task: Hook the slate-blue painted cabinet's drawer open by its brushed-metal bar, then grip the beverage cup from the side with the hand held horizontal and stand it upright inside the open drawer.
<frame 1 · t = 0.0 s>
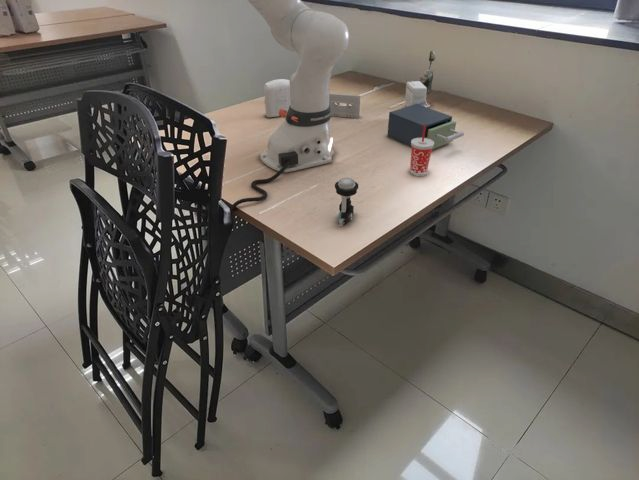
drawer: (431, 131, 139), point 4 cm above the table, slide at 1.0 cm
push button: (344, 220, 107), on the table
beverage cup: (418, 172, 126), on the table
cabinet: (417, 138, 145), on the table
cassette: (342, 116, 161), on the table
ink box: (412, 119, 159), on the table
plant with pod: (421, 105, 171), on the table
photo printer: (279, 115, 163), on the table
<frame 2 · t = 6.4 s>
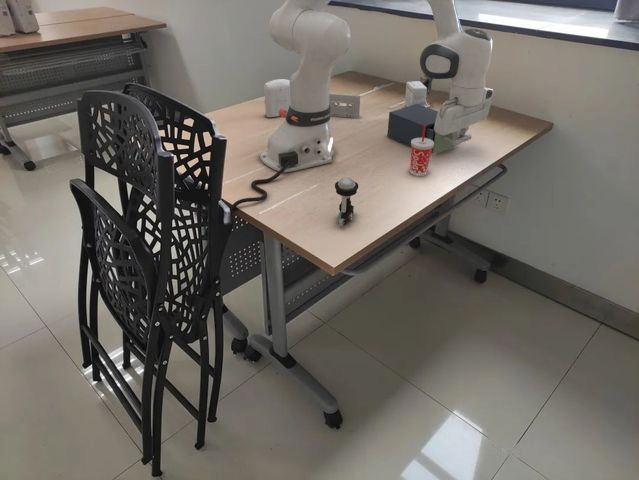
hand: (457, 141, 133), 4 cm above the table, tool pointing down, fingers closed, pressing on drawer
drawer: (438, 134, 137), point 4 cm above the table, slide at 3.8 cm, touching gripper
everything else where it was.
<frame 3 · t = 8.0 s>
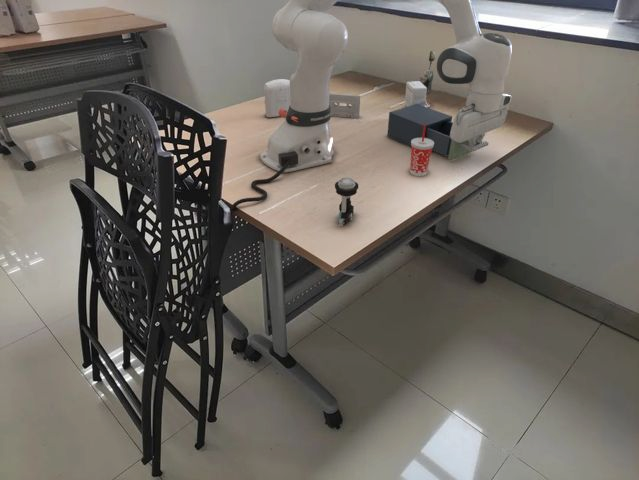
hand: (473, 148, 129), 4 cm above the table, tool pointing down, fingers closed, pressing on drawer
drawer: (454, 140, 134), point 4 cm above the table, slide at 9.6 cm, touching gripper
everything else where it was.
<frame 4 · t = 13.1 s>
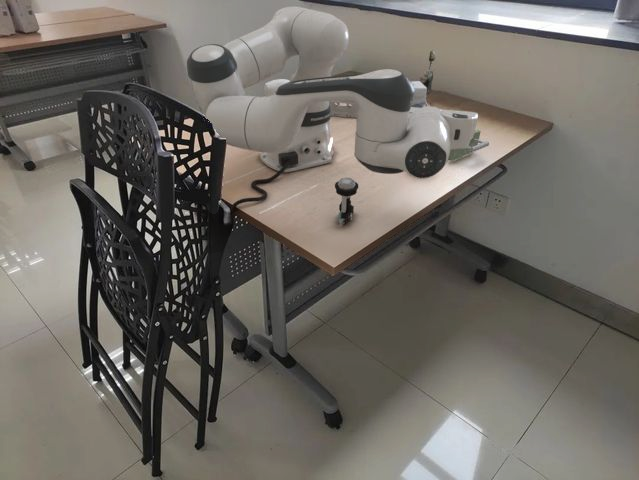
hand: (429, 109, 103), 22 cm above the table, tool horizontal, fingers closed
drawer: (454, 141, 133), point 4 cm above the table, slide at 9.8 cm
everything else where it was.
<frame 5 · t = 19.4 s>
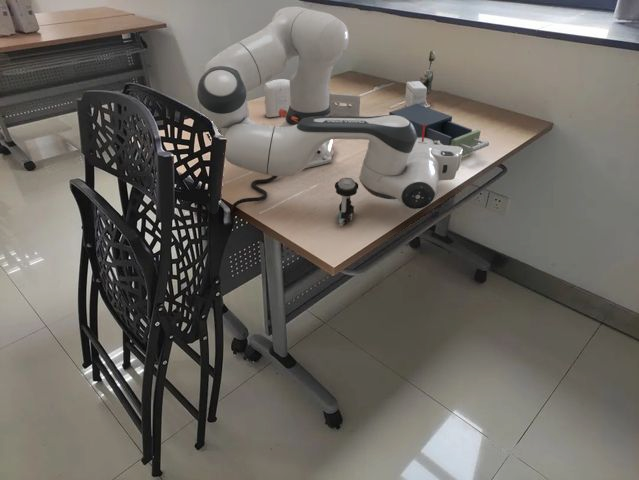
hand: (422, 141, 122), 9 cm above the table, tool horizontal, fingers closed on beverage cup, 6 cm apart
beverage cup: (418, 172, 126), on the table, touching gripper
everything else where it was.
when the fingers open (11 cm above the table, at t = 27.6 s): beverage cup stays where it is, resting on drawer.
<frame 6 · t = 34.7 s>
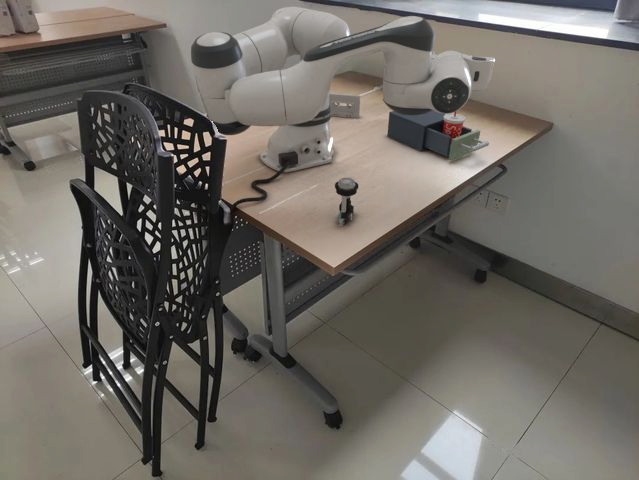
hand: (448, 57, 111), 30 cm above the table, tool horizontal, fingers open, 8 cm apart
drawer: (454, 141, 133), point 4 cm above the table, slide at 9.8 cm, touching beverage cup
beverage cup: (449, 146, 135), point 2 cm above the table, touching drawer
everything else where it was.
at the end: drawer slide at 9.8 cm; beverage cup inside the target area in the drawer (0.4 cm from its centre), point 1.8 cm above the cabinet's base; beverage cup tilted 0° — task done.
